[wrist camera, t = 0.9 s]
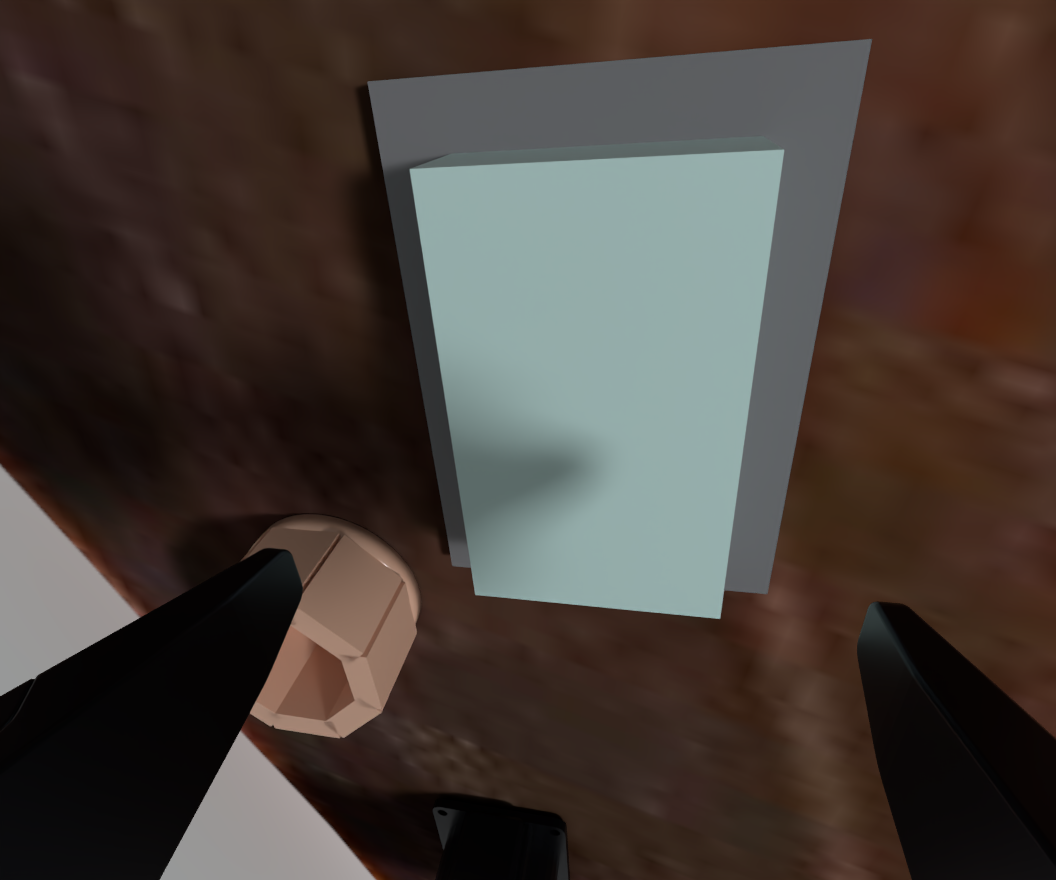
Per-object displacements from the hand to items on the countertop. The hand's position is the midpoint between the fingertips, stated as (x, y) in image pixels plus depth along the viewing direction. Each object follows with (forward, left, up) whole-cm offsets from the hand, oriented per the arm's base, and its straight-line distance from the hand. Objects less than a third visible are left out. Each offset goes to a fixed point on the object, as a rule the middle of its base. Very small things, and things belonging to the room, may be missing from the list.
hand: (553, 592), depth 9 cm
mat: (0, 0, -8) cm, 8 cm away
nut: (-9, +10, -8) cm, 16 cm away
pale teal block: (0, 0, -8) cm, 8 cm away
